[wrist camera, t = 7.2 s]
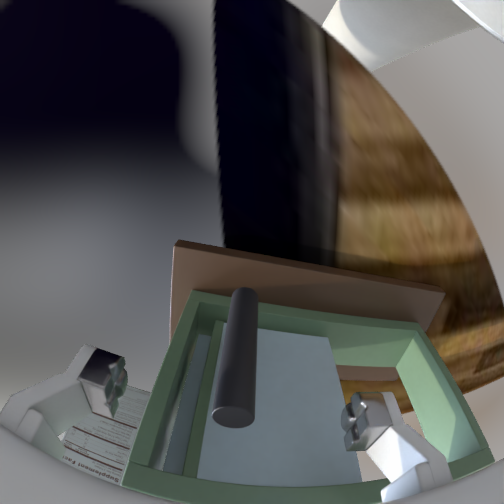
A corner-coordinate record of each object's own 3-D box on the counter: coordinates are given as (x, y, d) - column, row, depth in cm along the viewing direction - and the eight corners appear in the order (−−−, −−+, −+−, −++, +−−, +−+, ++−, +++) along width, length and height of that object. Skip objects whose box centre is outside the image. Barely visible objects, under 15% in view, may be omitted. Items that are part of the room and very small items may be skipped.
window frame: (178, 239, 19) (54, 433, 5) (439, 286, 20) (542, 421, 6) (172, 346, 23) (118, 509, 9) (392, 372, 24) (440, 503, 10)
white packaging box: (158, 425, 29) (134, 512, 17) (104, 407, 28) (70, 486, 17) (157, 392, 26) (124, 496, 14) (94, 372, 26) (47, 462, 14)
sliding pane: (223, 262, 17) (180, 429, 7) (349, 284, 17) (417, 436, 7) (214, 326, 19) (181, 479, 9) (326, 342, 19) (358, 486, 9)
